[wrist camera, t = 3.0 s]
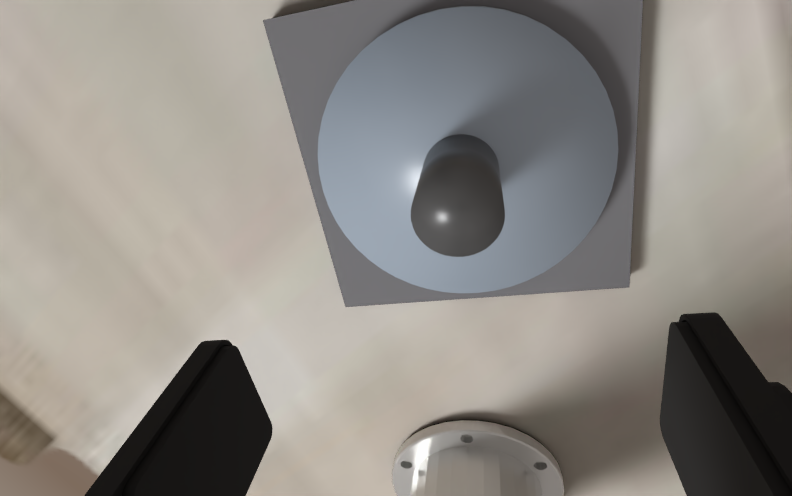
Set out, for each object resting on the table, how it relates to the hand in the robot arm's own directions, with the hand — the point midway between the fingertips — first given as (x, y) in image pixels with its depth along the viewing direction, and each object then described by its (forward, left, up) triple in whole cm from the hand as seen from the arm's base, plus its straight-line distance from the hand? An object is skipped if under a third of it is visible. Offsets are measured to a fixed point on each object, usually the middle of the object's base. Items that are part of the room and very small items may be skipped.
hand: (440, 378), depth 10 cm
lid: (0, 0, -15) cm, 15 cm away
